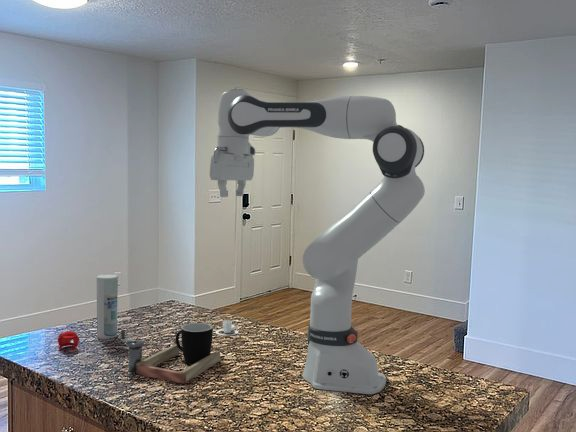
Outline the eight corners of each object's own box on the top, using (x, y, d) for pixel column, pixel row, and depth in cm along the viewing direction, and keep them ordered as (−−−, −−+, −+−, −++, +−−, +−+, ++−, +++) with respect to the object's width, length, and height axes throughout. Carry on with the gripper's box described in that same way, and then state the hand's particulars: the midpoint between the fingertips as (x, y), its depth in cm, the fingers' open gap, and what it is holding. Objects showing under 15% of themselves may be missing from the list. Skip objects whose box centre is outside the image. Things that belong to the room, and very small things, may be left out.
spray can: (107, 332, 183) (107, 273, 181) (121, 335, 180) (121, 275, 178) (92, 337, 177) (92, 276, 175) (107, 340, 174) (107, 278, 172)
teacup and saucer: (229, 328, 193) (229, 317, 193) (245, 333, 188) (245, 321, 187) (210, 333, 186) (210, 321, 186) (226, 338, 181) (226, 326, 181)
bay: (220, 360, 158) (220, 350, 158) (183, 383, 141) (184, 372, 140) (176, 353, 164) (176, 343, 163) (136, 374, 146) (136, 363, 146)
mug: (218, 359, 159) (218, 325, 159) (199, 368, 151) (200, 333, 151) (185, 352, 165) (185, 319, 164) (166, 361, 157) (166, 326, 156)
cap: (55, 347, 167) (55, 329, 166) (74, 344, 170) (74, 326, 169) (61, 353, 161) (61, 335, 160) (81, 350, 164) (81, 332, 164)
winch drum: (147, 368, 151) (147, 331, 150) (136, 373, 146) (137, 335, 145) (126, 364, 153) (127, 327, 152) (115, 369, 149) (116, 331, 148)
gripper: (225, 146, 144) (224, 198, 145) (258, 149, 163) (256, 196, 164) (204, 145, 146) (203, 197, 147) (239, 149, 165) (238, 195, 166)
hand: (231, 196), depth 155 cm, fingers open, 8 cm apart
